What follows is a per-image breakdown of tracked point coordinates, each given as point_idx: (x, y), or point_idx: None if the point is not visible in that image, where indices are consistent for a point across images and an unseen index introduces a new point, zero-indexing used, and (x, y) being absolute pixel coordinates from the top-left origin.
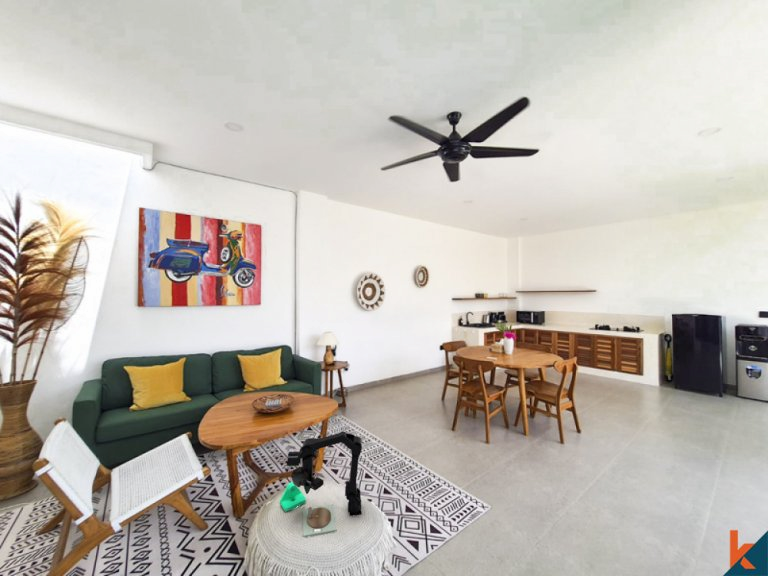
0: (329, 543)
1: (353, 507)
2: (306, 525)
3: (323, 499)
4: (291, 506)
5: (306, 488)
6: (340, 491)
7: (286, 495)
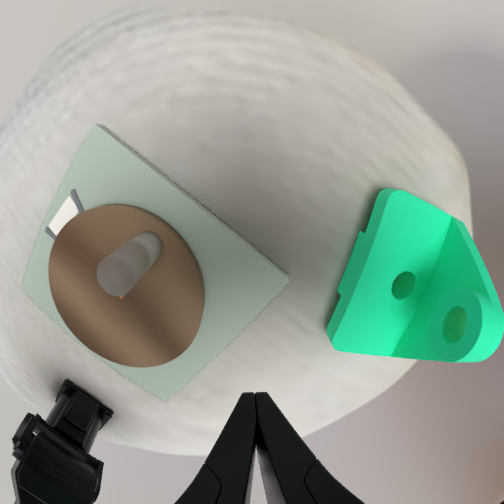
0: (3, 213)
1: (52, 412)
2: (139, 193)
3: None
4: (375, 235)
5: (229, 475)
6: None
7: (459, 266)
